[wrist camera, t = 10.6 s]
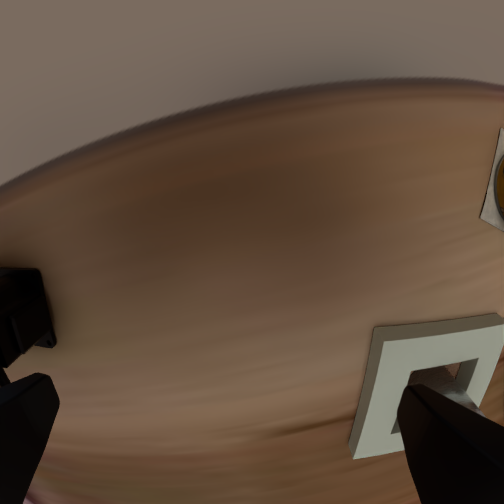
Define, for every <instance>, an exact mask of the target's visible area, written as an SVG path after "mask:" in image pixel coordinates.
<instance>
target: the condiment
mask: <svg viewBox="0 0 504 504" xmlns="http://www.w3.org/2000/svg"><path fill="white" fill-rule="evenodd" d="M480 218H481V219H483V220H485V221H486V222H488V223H490V224H491V225H493V226H495V227H497V228H498V229H500V230H502V231H503V232H504V130H503V129H502V128H501V130H500V136H499V141H498V147H497V150H496V155H495V160H494V164H493V168H492V173H491V177H490V182H489V186H488V190H487V195H486V200H485V204H484V207H483V211H482V214H481V217H480Z"/></svg>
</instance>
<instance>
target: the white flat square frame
mask: <svg viewBox="0 0 504 504" xmlns="http://www.w3.org/2000/svg"><path fill="white" fill-rule="evenodd" d="M503 344H504V318H503V317H501V316H500V315H498V314H497V313H495V314H489V315H482V316H475V317H468V318H461V319H453V320H445V321H437V322H428V323H418V324H408V325H397V326H386V327H374V331H373V337H372V343H371V348H370V354H369V359H368V364H367V369H366V374H365V378H364V383H363V388H362V392H361V396H360V401H359V405H358V409H357V413H356V417H355V421H354V424H353V428H352V432H351V435H350V439H349V443H348V444H349V447H350V451H351V454H352V458H353V459H358V458H364V457H370V456H376V455H382V454H387V453H392V452H396V451H401V450H405V449H404V445H403V441H402V436H401V432H400V428H399V424H398V420H397V409H398V406H399V403H400V399H401V396H402V393H403V390H404V388H405V387H406V386H407V383H408V380H409V376H410V373H411V371H413V370H420V369H426V368H431V367H437V366H442V365H447V364H453V363H457V362H462V363H461V366H460V369H459V372H458V375H457V377H456V381H457V382H458V383H459V384H460V386H461V387H462V388H463V389H464V391H465V392H466V393H467V394H468V395H469V397H470V398H471V399H472V400H473V402H474V403H475V404H476V405H477V407H479V405H480V403H481V401H482V398H483V396H484V394H485V392H486V389H487V387H488V385H489V382H490V380H491V377H492V375H493V372H494V369H495V367H496V364H497V361H498V359H499V356H500V353H501V350H502V347H503Z"/></svg>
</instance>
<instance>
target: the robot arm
mask: <svg viewBox="0 0 504 504" xmlns="http://www.w3.org/2000/svg"><path fill="white" fill-rule="evenodd" d="M34 275H35V277H34ZM33 345H35V346H40V347H46V348H53V347H54V346H55V345H56V339H55V336H54V332H53V328H52V325H51V321H50V317H49V313H48V308H47V304H46V299H45V295H44V290H43V285H42V280H41V275H40V272H39V271H38V270H37V269H35V268H3V267H0V504H23V501H24V499H25V496H26V494H27V491H28V489H29V486H30V483H31V481H32V479H33V476H34V474H35V471H36V469H37V467H38V464H39V462H40V460H41V457H42V455H43V452H44V450H45V447H46V444H47V441H48V438H49V435H50V432H51V429H52V426H53V423H54V420H55V417H56V415H57V412H58V409H59V405H60V401H59V397H58V394H57V392H56V389H55V387H54V384H53V381H52V379H51V377H50V376H48V375H46V374H42V373H34V374H32V375H29V376H27V377H24V378H22V379H20V380H17V381H15V382H12V383H11V382H10V380H9V379H8V377H7V375H6V373H5V371H4V369H3V368H8V367H9V366H10V365H11V364H12V363H13V362H14V361H15V360H16V359H17V358H18V357H20V356H21V355H22V354H25V353H26V352H27V351H28V350H29V349H30V348H31V347H32V346H33ZM397 420H398V424H399V428H400V432H401V436H402V441H403V445H404V449H405V453H406V458H407V462H408V466H409V469H410V472H411V475H412V478H413V481H414V484H415V486H416V489H417V492H418V495H419V498H420V501H421V504H504V427H503V426H501V425H499V424H497V423H495V422H493V421H491V420H490V419H488V418H486V417H484V416H482V415H480V414H478V413H476V412H474V411H472V410H470V409H468V408H467V407H465V406H463V405H461V404H459V403H457V402H455V401H453V400H451V399H450V398H448V397H446V396H444V395H442V394H440V393H438V392H437V391H435V390H433V389H431V388H429V387H427V386H425V385H424V384H421V383H417V384H411V385H407V386H406V387H405V388H404V390H403V393H402V396H401V399H400V403H399V406H398V409H397Z"/></svg>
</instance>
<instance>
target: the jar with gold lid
mask: <svg viewBox="0 0 504 504" xmlns="http://www.w3.org/2000/svg"><path fill="white" fill-rule="evenodd" d="M417 383H421V384H424V385H425V386H427V387H429V388H431V389H433V390H435V391H437V392H438V393H440V394H442V395H444V396H446V397H448V398H450V399H451V400H453V401H455V402H457V403H459V404H461V405H463V406H465V407H467V408H468V409H470V410H472V411H474V412H476V413H478V414H480V415H482V416H484V414H483V413H482V412H481V411H480V409H479V408H478V407H477V405H476V404H475V403H474V402H473V400H472V399H471V398H470V397H469V395H468V394H467V393H466V392H465V391H464V389H463V388H462V387H461V386H460V384H459V383H458V382H457V381H456V380H455V378H454V377H453V376H452V375H451V374H450V372H449V371H448V370H447V369H446V368H445V366H444V365H442V366H437V367H431V368H426V369H420V370H416V371H414V372H413V373H412V374H411V375H410V376H409V380H408V383H407V385H411V384H417ZM484 417H485V416H484Z"/></svg>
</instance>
